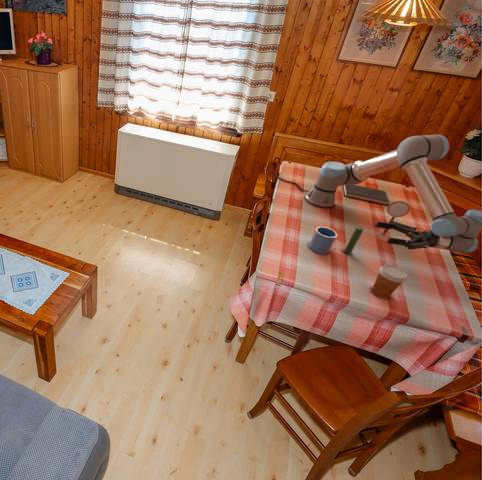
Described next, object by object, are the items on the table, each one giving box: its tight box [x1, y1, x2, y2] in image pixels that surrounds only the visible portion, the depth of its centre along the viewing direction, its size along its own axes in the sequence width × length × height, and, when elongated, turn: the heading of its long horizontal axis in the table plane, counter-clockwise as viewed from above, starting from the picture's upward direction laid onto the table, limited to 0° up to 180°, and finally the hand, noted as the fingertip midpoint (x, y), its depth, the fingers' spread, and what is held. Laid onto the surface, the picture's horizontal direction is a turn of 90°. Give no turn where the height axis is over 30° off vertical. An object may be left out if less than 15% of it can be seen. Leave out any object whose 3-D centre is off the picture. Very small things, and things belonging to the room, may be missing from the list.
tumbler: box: [308, 226, 338, 255], centre depth 179 cm, size 9×9×10 cm
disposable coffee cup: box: [371, 264, 408, 299], centre depth 154 cm, size 10×10×12 cm
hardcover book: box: [342, 184, 390, 206], centre depth 231 cm, size 16×23×2 cm
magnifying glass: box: [382, 200, 411, 236], centre depth 189 cm, size 9×2×20 cm, turn 63°
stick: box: [343, 226, 365, 255], centre depth 176 cm, size 3×3×14 cm
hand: (382, 232), depth 171 cm, fingers open, 13 cm apart
